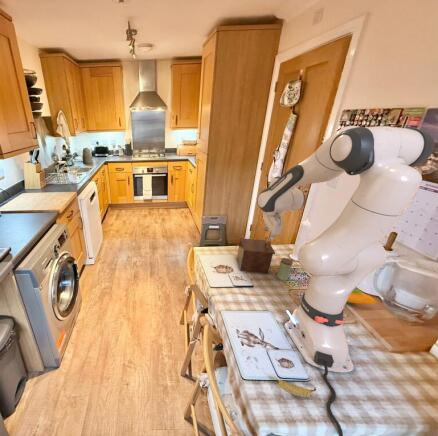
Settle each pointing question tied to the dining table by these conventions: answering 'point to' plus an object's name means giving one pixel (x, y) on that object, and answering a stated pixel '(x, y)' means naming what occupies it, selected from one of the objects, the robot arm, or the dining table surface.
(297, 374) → the dining table surface
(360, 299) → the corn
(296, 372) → the dining table surface
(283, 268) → the spice jar
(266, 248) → the lid
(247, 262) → the box
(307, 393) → the banana
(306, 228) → the candle
